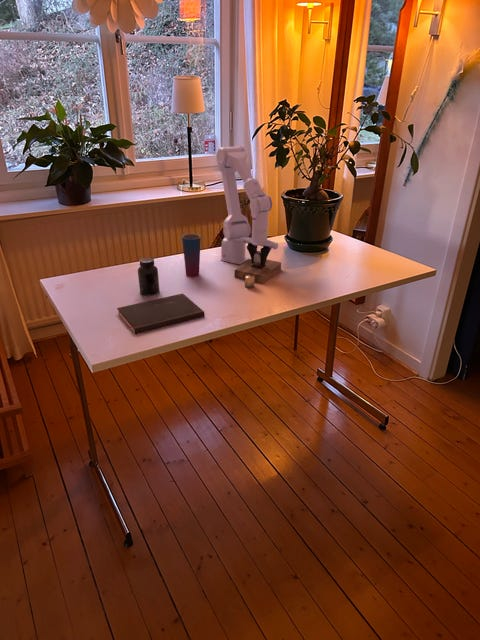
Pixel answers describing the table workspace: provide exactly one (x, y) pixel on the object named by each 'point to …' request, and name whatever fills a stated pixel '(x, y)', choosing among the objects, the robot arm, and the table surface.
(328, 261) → the table surface
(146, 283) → the supplement bottle
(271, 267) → the walnut board
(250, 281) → the short brass peg
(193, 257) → the cup
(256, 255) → the long steel peg
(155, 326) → the hardcover book
